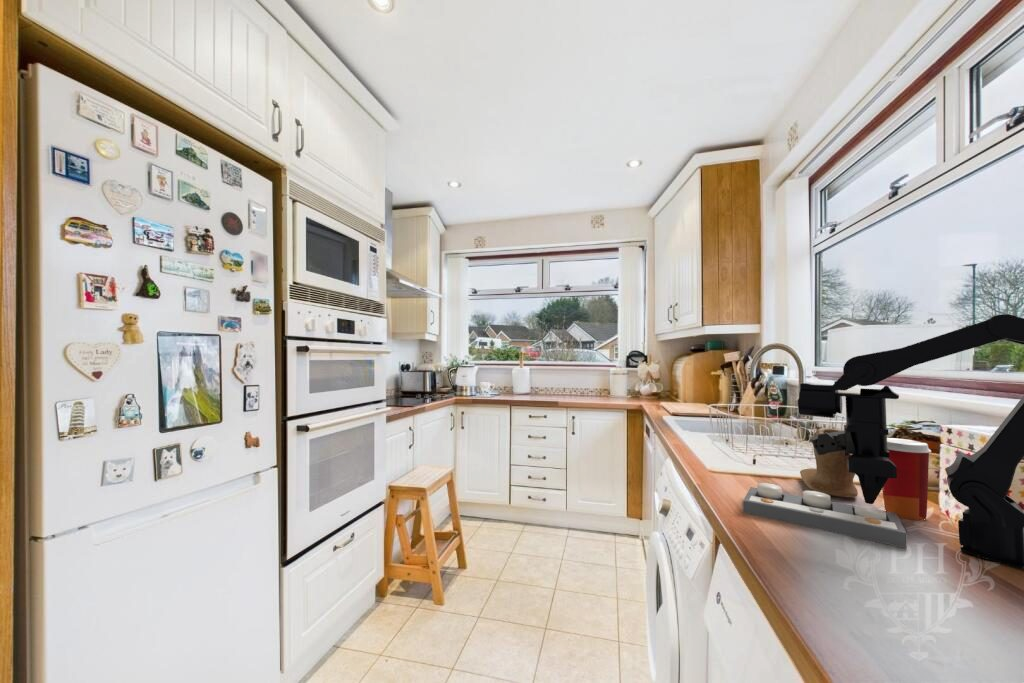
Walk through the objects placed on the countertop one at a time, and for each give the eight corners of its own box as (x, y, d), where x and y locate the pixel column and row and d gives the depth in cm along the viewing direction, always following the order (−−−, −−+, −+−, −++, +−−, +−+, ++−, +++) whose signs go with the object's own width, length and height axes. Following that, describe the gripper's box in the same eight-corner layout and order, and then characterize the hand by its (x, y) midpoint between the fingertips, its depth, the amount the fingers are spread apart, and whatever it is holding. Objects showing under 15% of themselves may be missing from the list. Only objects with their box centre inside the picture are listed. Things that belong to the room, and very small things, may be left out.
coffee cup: (908, 507, 83) (905, 437, 84) (947, 523, 75) (943, 446, 76) (866, 506, 84) (863, 436, 85) (900, 522, 76) (897, 445, 77)
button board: (897, 526, 74) (896, 510, 74) (907, 548, 65) (906, 530, 65) (750, 498, 89) (750, 485, 89) (743, 512, 80) (743, 498, 80)
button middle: (830, 503, 79) (830, 493, 79) (830, 510, 75) (830, 499, 75) (803, 498, 81) (803, 489, 82) (802, 505, 78) (802, 494, 78)
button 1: (782, 495, 84) (782, 485, 84) (781, 500, 80) (780, 491, 80) (758, 490, 86) (758, 481, 87) (756, 496, 83) (756, 486, 83)
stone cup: (874, 506, 84) (872, 436, 85) (806, 496, 90) (804, 431, 91) (858, 486, 97) (855, 426, 98) (799, 479, 103) (797, 422, 104)
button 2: (885, 520, 74) (884, 509, 74) (888, 528, 70) (887, 516, 70) (854, 514, 76) (853, 504, 77) (855, 521, 73) (855, 510, 73)
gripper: (813, 412, 87) (815, 482, 86) (811, 422, 72) (814, 507, 71) (881, 416, 80) (885, 493, 79) (895, 429, 65) (899, 523, 64)
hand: (869, 503), depth 74 cm, fingers closed
